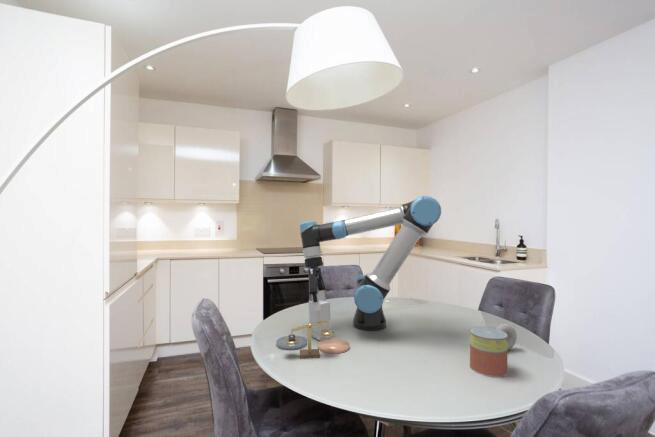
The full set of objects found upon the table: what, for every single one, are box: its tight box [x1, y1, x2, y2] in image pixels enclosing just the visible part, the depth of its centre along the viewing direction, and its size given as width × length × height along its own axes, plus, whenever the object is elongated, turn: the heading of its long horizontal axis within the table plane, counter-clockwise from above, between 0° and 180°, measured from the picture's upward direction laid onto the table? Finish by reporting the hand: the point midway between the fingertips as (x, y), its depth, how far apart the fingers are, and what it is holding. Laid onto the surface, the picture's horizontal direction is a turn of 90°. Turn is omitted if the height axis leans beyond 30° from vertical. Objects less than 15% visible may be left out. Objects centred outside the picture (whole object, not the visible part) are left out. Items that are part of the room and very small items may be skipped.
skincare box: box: [308, 299, 332, 341], centre depth 138 cm, size 8×6×15 cm
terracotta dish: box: [317, 337, 350, 355], centre depth 127 cm, size 12×12×1 cm
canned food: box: [469, 326, 509, 378], centre depth 110 cm, size 11×11×12 cm
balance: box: [285, 320, 335, 360], centre depth 120 cm, size 18×5×12 cm, turn 96°
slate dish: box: [275, 335, 308, 351], centre depth 130 cm, size 12×12×1 cm
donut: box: [494, 323, 518, 351], centre depth 125 cm, size 10×3×10 cm, turn 105°
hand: (320, 307), depth 139 cm, fingers open, 13 cm apart
